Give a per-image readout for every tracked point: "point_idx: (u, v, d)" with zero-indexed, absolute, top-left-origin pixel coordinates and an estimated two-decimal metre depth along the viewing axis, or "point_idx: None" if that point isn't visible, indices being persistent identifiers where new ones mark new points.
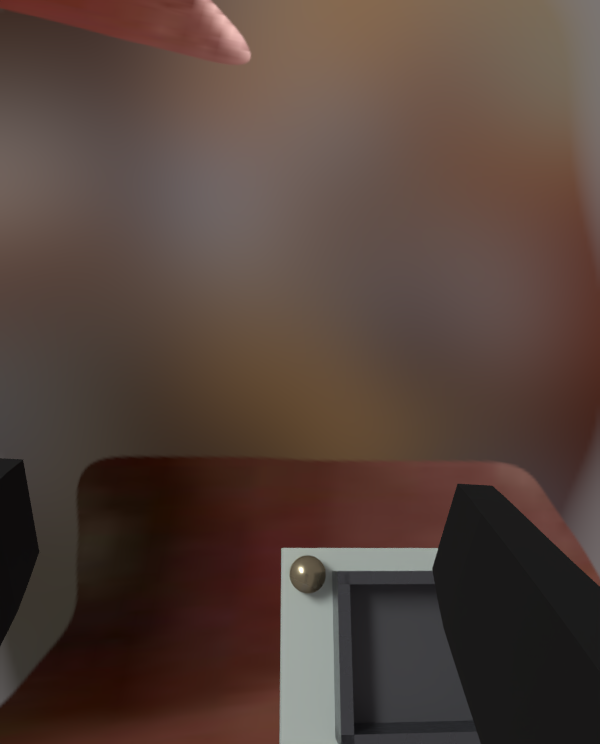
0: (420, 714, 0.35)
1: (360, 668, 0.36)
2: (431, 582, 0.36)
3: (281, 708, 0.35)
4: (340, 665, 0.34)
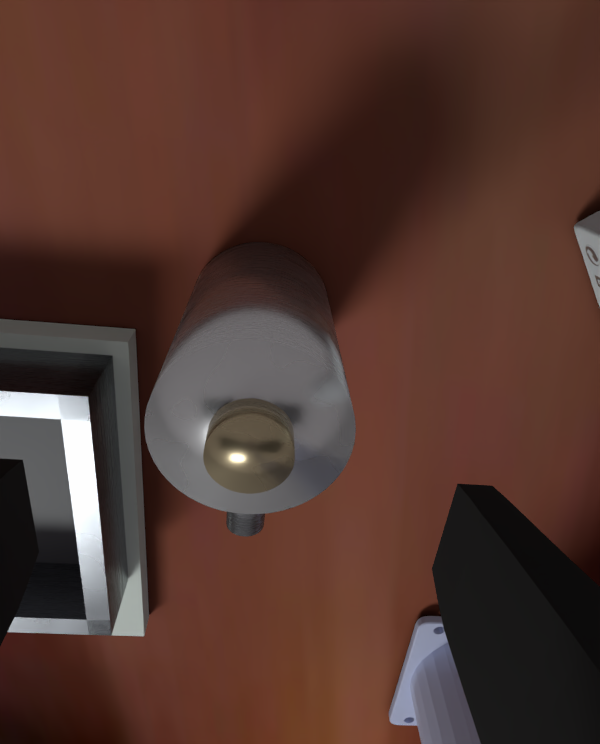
0: None
1: None
2: None
3: None
4: None
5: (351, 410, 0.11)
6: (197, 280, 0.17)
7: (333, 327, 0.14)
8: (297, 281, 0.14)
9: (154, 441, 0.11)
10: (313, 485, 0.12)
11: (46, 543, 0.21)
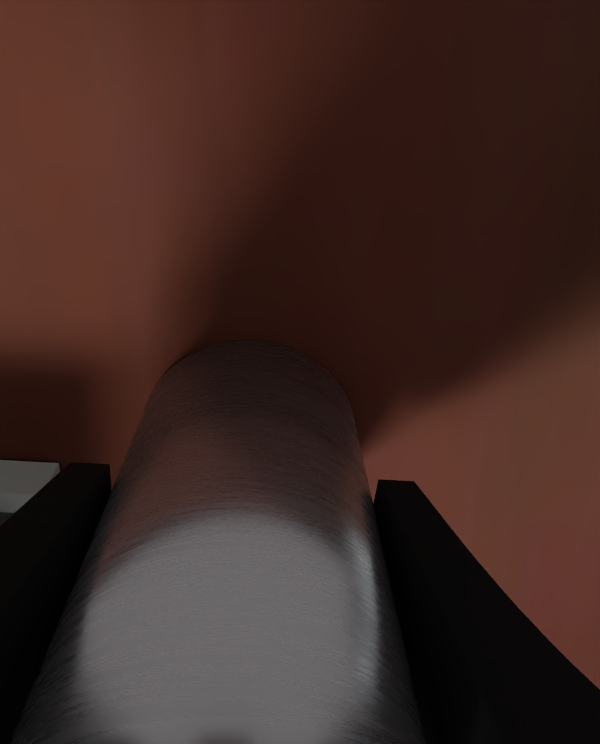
0: None
1: None
2: None
3: None
4: None
5: None
6: (148, 400, 0.10)
7: (373, 517, 0.08)
8: (310, 436, 0.08)
9: None
10: None
11: None
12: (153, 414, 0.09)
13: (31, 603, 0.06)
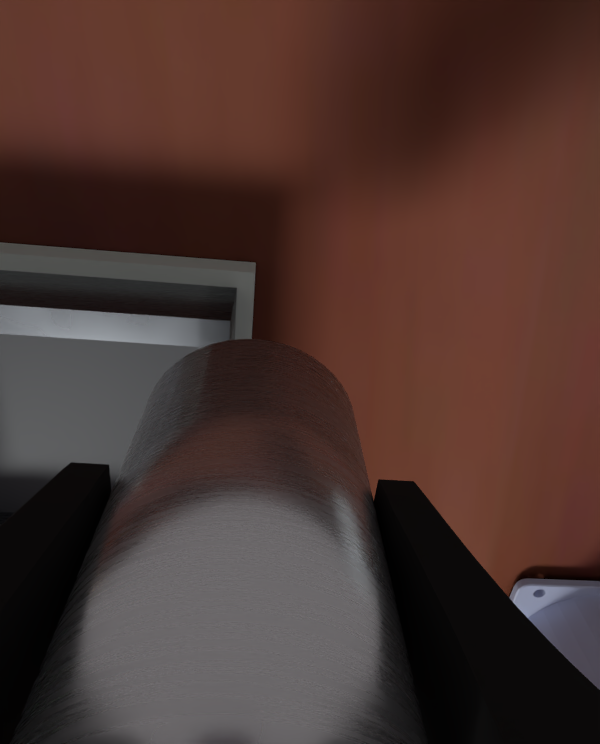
0: None
1: None
2: None
3: None
4: None
5: None
6: (149, 399, 0.10)
7: (374, 515, 0.08)
8: (311, 435, 0.08)
9: None
10: None
11: None
12: (153, 413, 0.09)
13: (30, 602, 0.06)
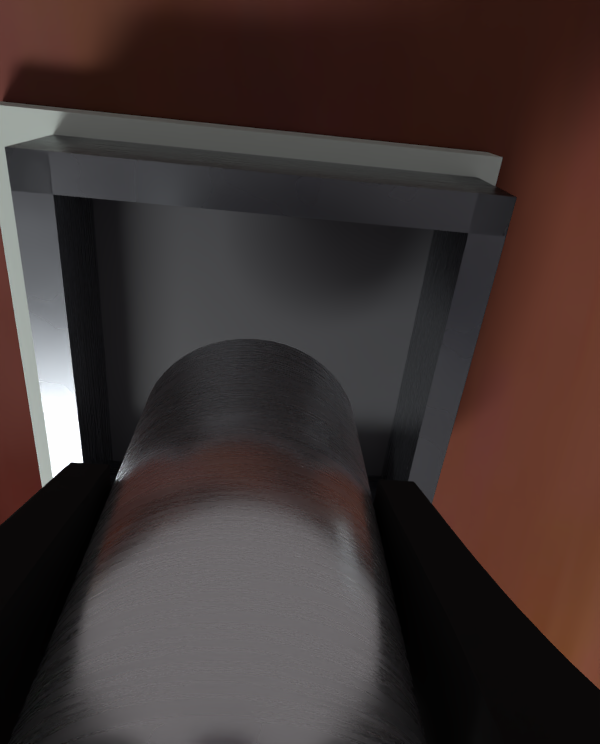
0: (396, 338, 0.15)
1: None
2: (64, 331, 0.12)
3: None
4: None
5: None
6: (148, 399, 0.10)
7: (373, 515, 0.08)
8: (310, 435, 0.08)
9: None
10: None
11: None
12: (152, 413, 0.09)
13: (30, 602, 0.06)
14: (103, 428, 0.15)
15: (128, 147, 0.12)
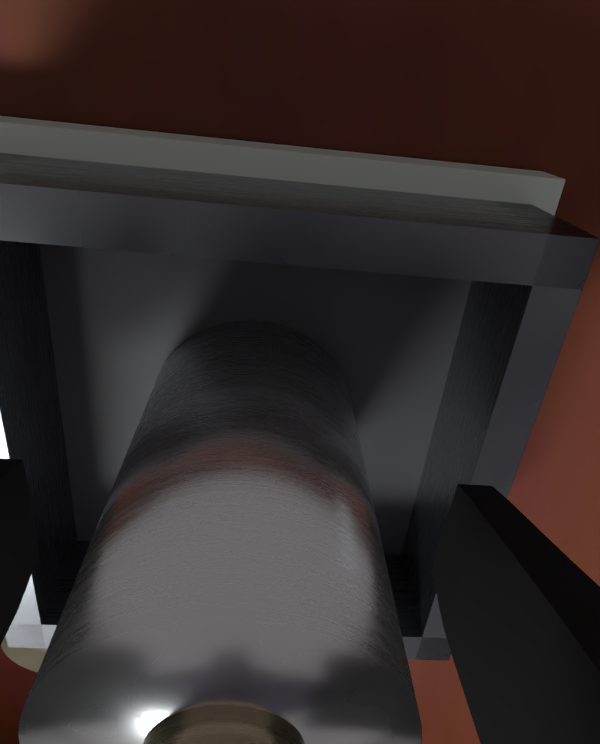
0: (423, 400, 0.12)
1: None
2: None
3: None
4: None
5: (416, 718, 0.06)
6: (158, 376, 0.11)
7: (365, 477, 0.09)
8: (308, 404, 0.09)
9: None
10: None
11: None
12: (163, 386, 0.10)
13: None
14: (61, 509, 0.13)
15: (77, 169, 0.09)
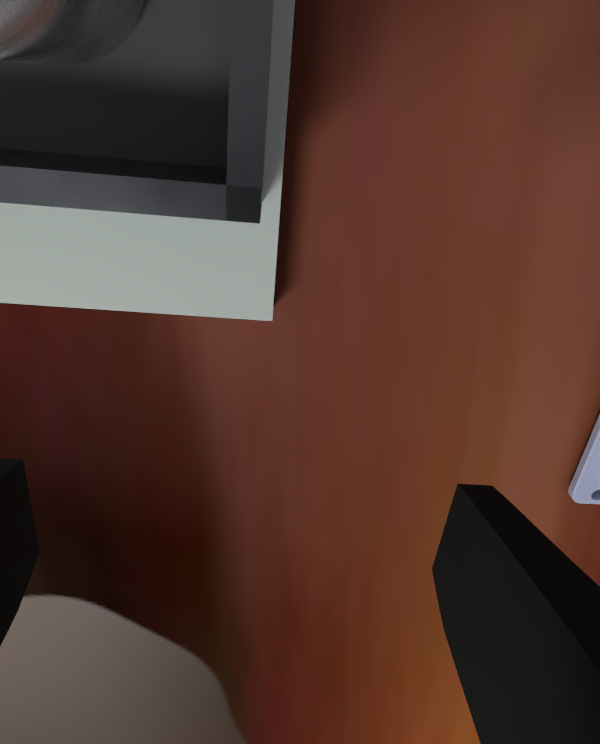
0: None
1: (110, 118, 0.14)
2: None
3: (200, 313, 0.16)
4: (60, 205, 0.12)
5: None
6: None
7: None
8: None
9: None
10: None
11: (150, 118, 0.14)
12: None
13: None
14: None
15: None
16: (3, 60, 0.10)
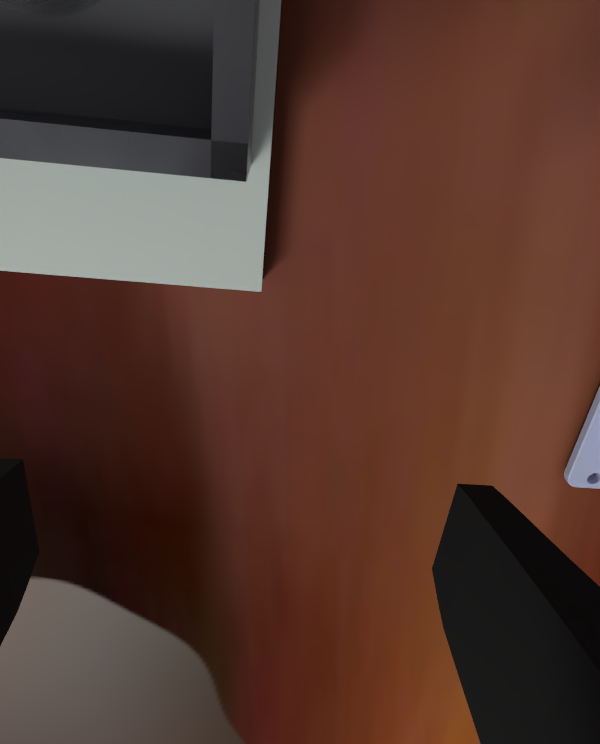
0: None
1: (94, 75, 0.13)
2: None
3: (187, 282, 0.16)
4: (39, 159, 0.12)
5: None
6: None
7: None
8: None
9: None
10: None
11: (135, 76, 0.13)
12: None
13: None
14: None
15: None
16: None
